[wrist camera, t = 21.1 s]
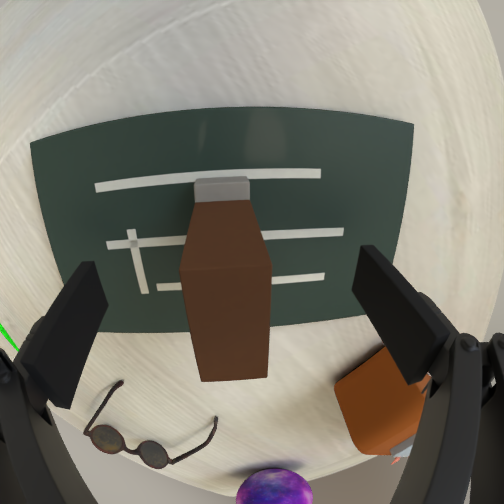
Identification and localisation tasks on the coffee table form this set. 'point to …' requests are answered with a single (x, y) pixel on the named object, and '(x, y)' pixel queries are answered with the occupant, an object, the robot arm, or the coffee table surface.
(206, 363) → the eraser
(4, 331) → the leaf
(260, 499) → the decorative orb
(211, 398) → the coffee table surface
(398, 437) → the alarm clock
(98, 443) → the eyeglasses
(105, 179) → the chalkboard
